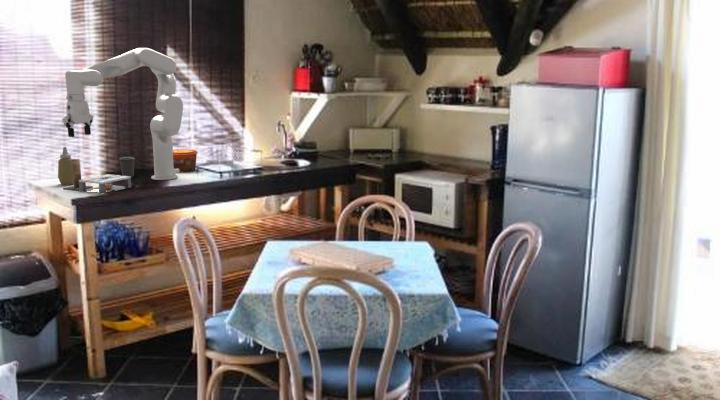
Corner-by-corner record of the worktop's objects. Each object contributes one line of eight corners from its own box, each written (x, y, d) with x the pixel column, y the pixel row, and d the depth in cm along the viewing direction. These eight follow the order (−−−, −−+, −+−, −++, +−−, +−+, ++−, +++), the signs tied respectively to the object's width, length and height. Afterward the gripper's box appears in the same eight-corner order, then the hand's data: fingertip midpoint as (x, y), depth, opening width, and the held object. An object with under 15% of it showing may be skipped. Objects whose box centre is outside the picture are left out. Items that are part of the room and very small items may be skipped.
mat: (78, 186, 332) (78, 184, 332) (92, 187, 328) (92, 186, 328) (63, 189, 324) (63, 187, 324) (77, 190, 320) (77, 189, 320)
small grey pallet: (108, 185, 335) (107, 174, 334) (131, 187, 329) (130, 176, 328) (79, 191, 319) (78, 179, 318) (102, 193, 313) (102, 182, 312)
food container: (183, 173, 370) (182, 153, 367) (161, 171, 377) (160, 151, 375) (204, 169, 383) (203, 150, 381) (182, 167, 391) (182, 148, 389)
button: (105, 187, 327) (105, 183, 326) (112, 188, 325) (112, 184, 325) (99, 189, 323) (99, 184, 323) (105, 189, 322) (105, 185, 321)
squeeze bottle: (79, 184, 336) (76, 147, 333) (62, 186, 331) (59, 148, 327) (72, 182, 342) (69, 145, 339) (55, 184, 337) (52, 146, 333)
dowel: (83, 186, 327) (81, 159, 324) (77, 187, 324) (75, 160, 321) (78, 186, 328) (75, 158, 325) (72, 187, 325) (70, 159, 322)
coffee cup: (126, 178, 355) (124, 158, 353) (116, 176, 360) (115, 157, 358) (139, 176, 361) (138, 156, 359) (130, 174, 366) (129, 155, 364)
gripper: (67, 99, 310) (71, 138, 313) (96, 97, 325) (100, 134, 328) (55, 99, 313) (58, 137, 316) (84, 96, 328) (88, 133, 331)
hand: (79, 135), depth 322 cm, fingers open, 9 cm apart
